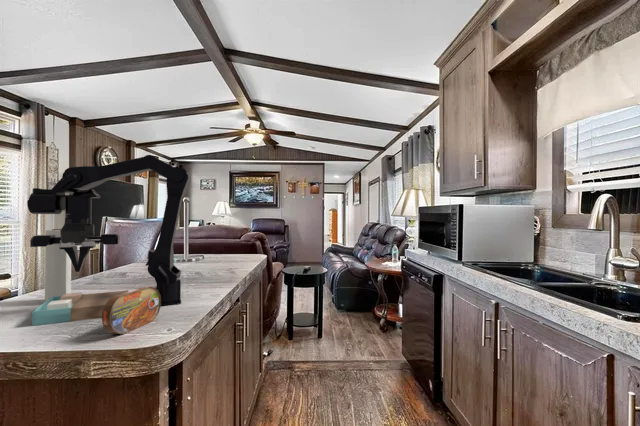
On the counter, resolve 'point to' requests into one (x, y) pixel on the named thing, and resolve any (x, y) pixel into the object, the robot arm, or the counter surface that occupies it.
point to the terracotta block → (71, 297)
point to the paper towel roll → (56, 269)
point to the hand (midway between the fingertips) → (77, 271)
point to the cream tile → (59, 304)
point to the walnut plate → (91, 305)
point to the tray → (50, 313)
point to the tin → (131, 310)
